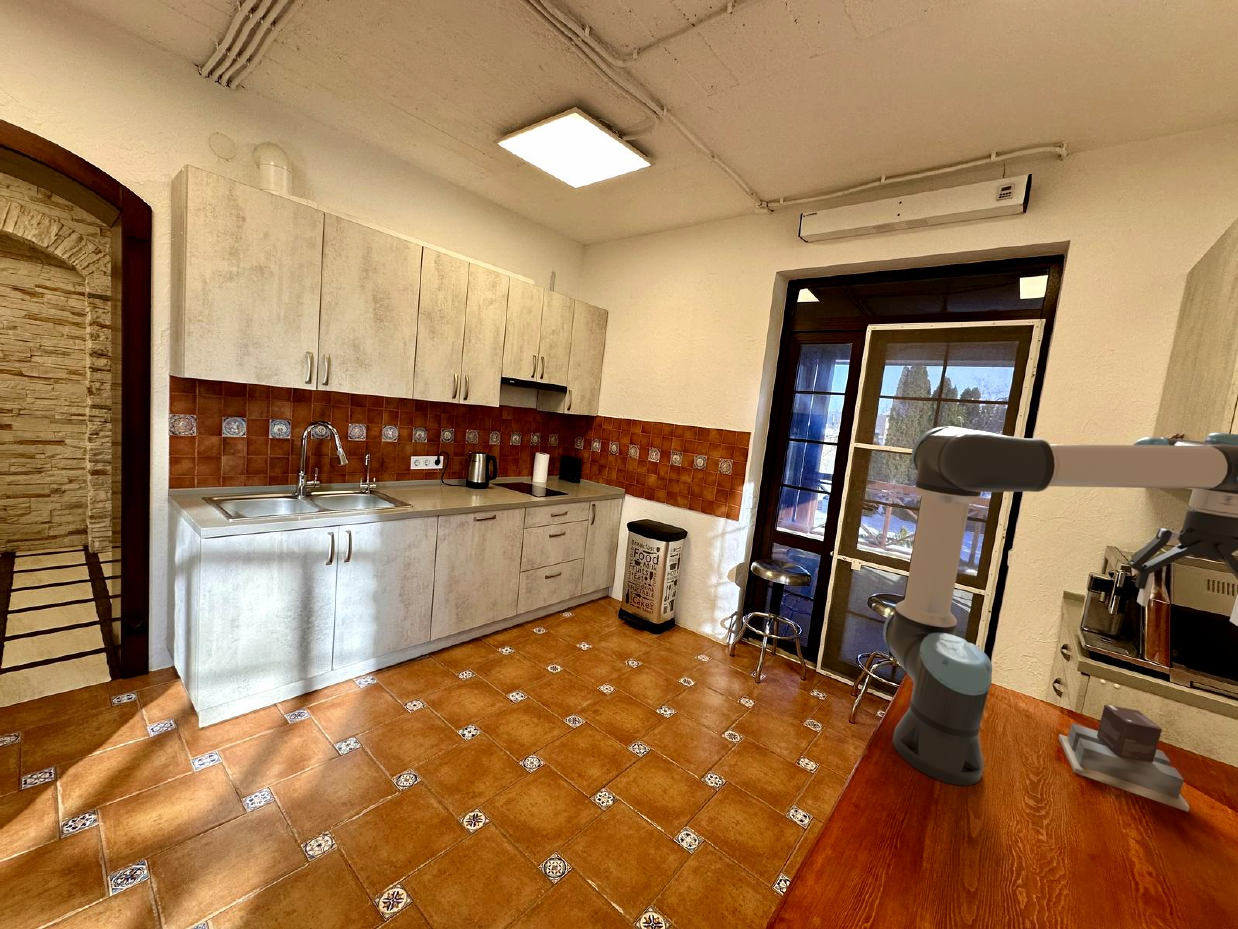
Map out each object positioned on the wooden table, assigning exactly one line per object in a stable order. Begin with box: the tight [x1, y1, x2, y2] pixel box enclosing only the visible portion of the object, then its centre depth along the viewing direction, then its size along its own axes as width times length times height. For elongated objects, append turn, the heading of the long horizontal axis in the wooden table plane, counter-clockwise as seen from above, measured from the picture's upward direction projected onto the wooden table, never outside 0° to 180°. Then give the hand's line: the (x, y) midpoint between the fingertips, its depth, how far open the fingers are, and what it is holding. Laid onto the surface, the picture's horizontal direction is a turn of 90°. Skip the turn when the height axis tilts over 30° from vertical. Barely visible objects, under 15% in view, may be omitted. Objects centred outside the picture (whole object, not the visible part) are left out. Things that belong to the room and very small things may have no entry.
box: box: [1097, 704, 1163, 762], centre depth 99 cm, size 6×6×7 cm
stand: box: [1058, 722, 1190, 813], centre depth 100 cm, size 16×12×5 cm
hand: (1187, 613), depth 102 cm, fingers open, 13 cm apart
